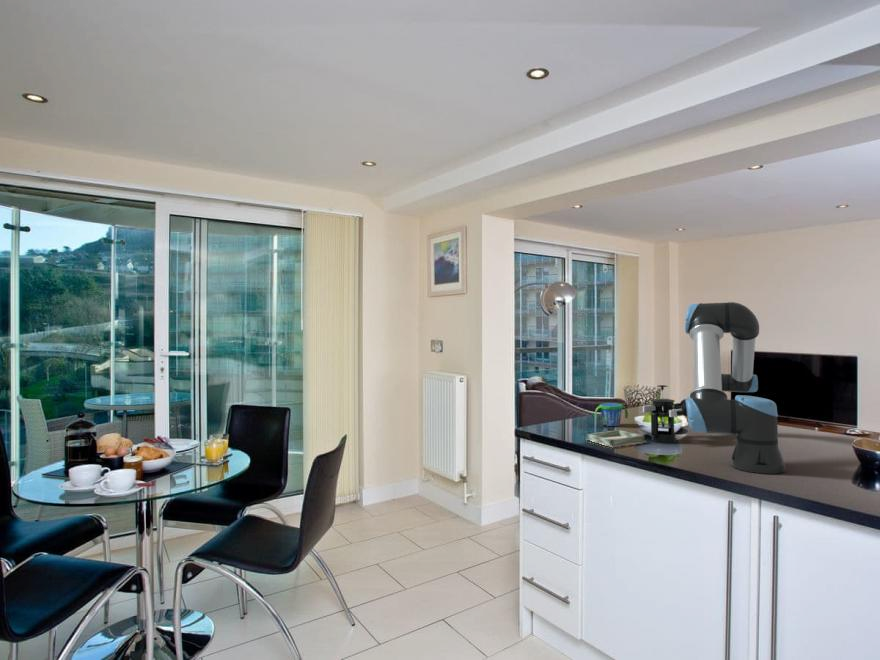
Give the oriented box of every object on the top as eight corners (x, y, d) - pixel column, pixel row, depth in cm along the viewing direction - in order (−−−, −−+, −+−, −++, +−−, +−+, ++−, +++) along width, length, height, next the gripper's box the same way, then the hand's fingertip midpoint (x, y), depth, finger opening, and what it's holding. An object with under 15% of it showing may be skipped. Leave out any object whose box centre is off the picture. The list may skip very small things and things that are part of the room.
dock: (646, 443, 206) (646, 436, 206) (612, 448, 199) (612, 440, 199) (617, 436, 221) (617, 429, 221) (585, 440, 213) (584, 433, 213)
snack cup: (597, 428, 241) (596, 406, 241) (592, 423, 251) (592, 403, 251) (631, 427, 239) (630, 406, 239) (625, 423, 250) (624, 402, 250)
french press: (662, 437, 217) (661, 383, 217) (682, 441, 209) (680, 385, 209) (643, 440, 211) (642, 385, 211) (663, 444, 203) (661, 387, 203)
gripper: (719, 420, 206) (682, 425, 197) (669, 412, 229) (633, 416, 220) (719, 401, 206) (681, 406, 197) (668, 395, 229) (633, 398, 220)
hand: (656, 411), depth 209 cm, fingers open, 13 cm apart
